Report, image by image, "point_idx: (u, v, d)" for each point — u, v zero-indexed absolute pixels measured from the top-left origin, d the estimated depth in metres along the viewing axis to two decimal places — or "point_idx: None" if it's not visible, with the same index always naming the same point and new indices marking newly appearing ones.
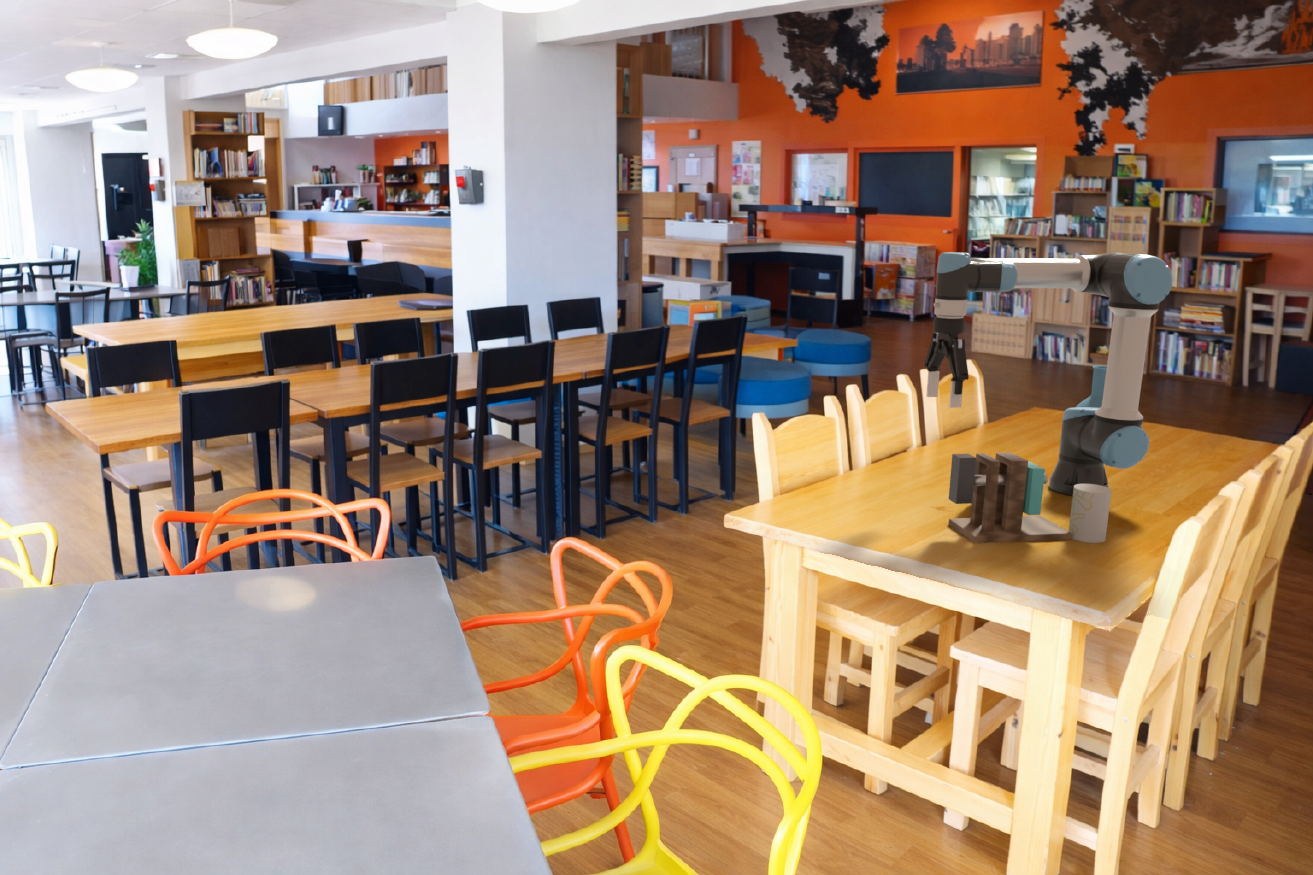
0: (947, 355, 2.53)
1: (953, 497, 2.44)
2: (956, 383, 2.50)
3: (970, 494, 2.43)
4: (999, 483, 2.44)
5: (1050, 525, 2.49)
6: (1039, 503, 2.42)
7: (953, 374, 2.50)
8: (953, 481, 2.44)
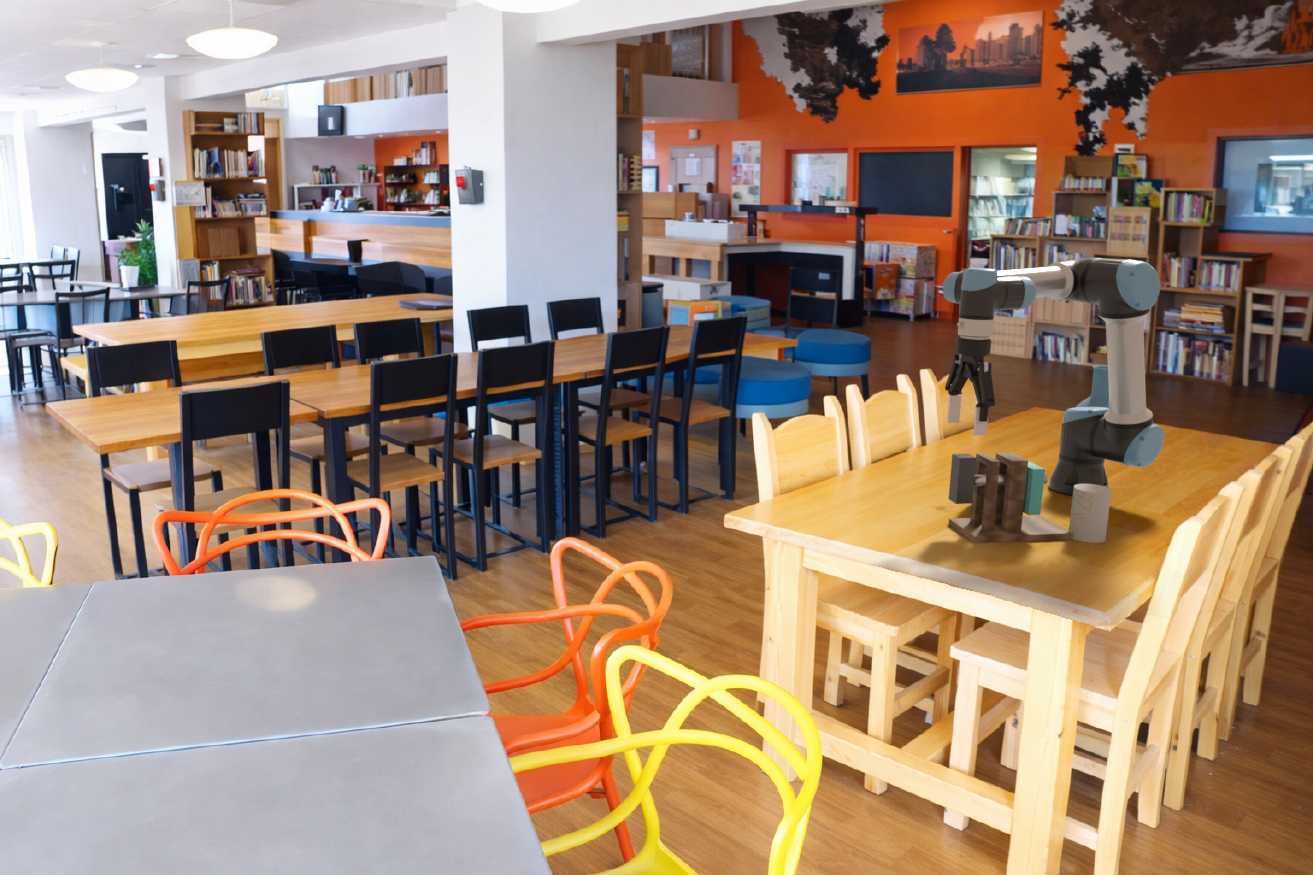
0: (971, 379, 2.34)
1: (953, 497, 2.44)
2: (981, 409, 2.32)
3: (970, 494, 2.43)
4: (999, 483, 2.44)
5: (1050, 525, 2.49)
6: (1039, 503, 2.42)
7: (978, 399, 2.32)
8: (953, 481, 2.44)
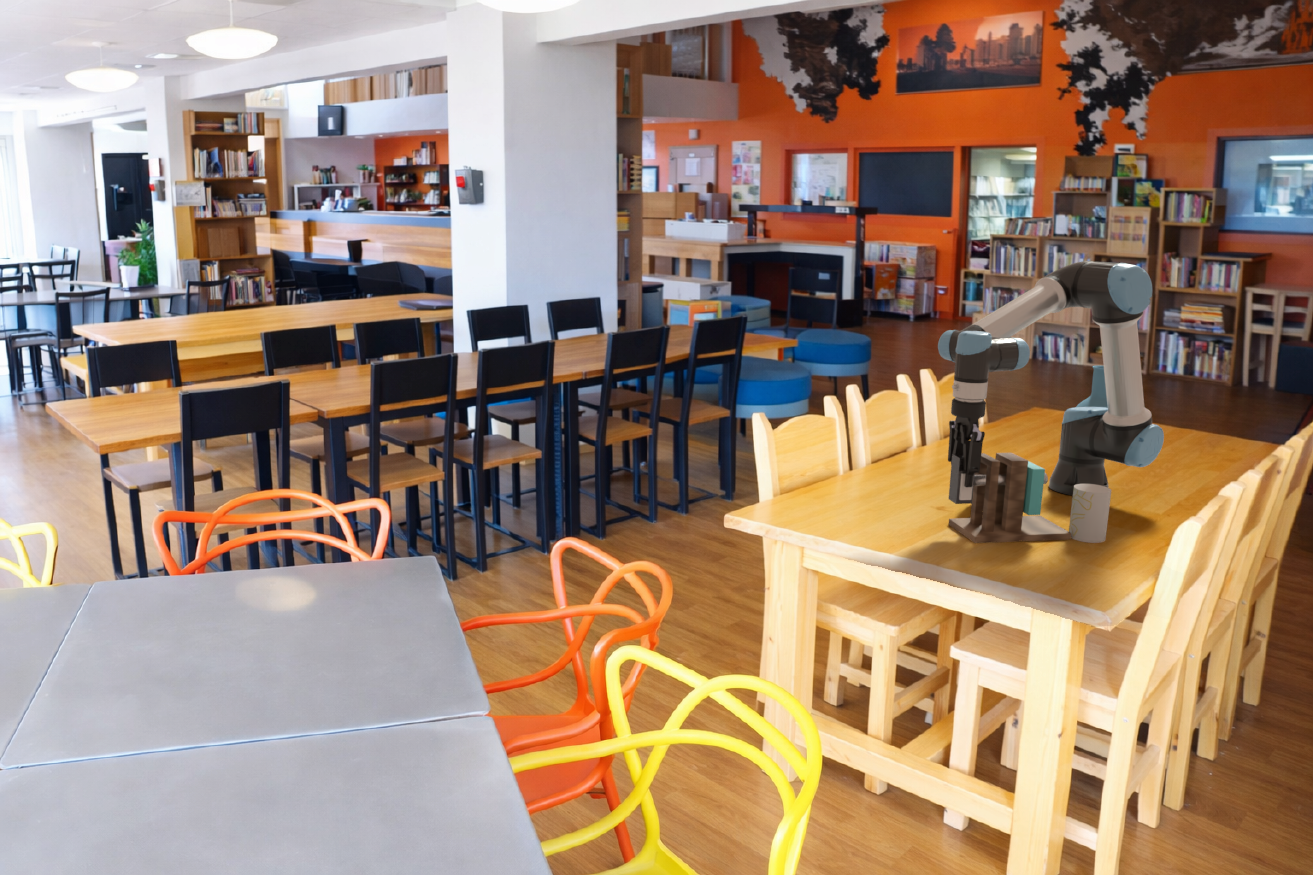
0: (963, 442, 2.39)
1: (953, 497, 2.44)
2: (966, 475, 2.40)
3: None
4: (999, 483, 2.44)
5: (1050, 525, 2.49)
6: (1039, 503, 2.42)
7: (964, 465, 2.40)
8: (953, 481, 2.44)
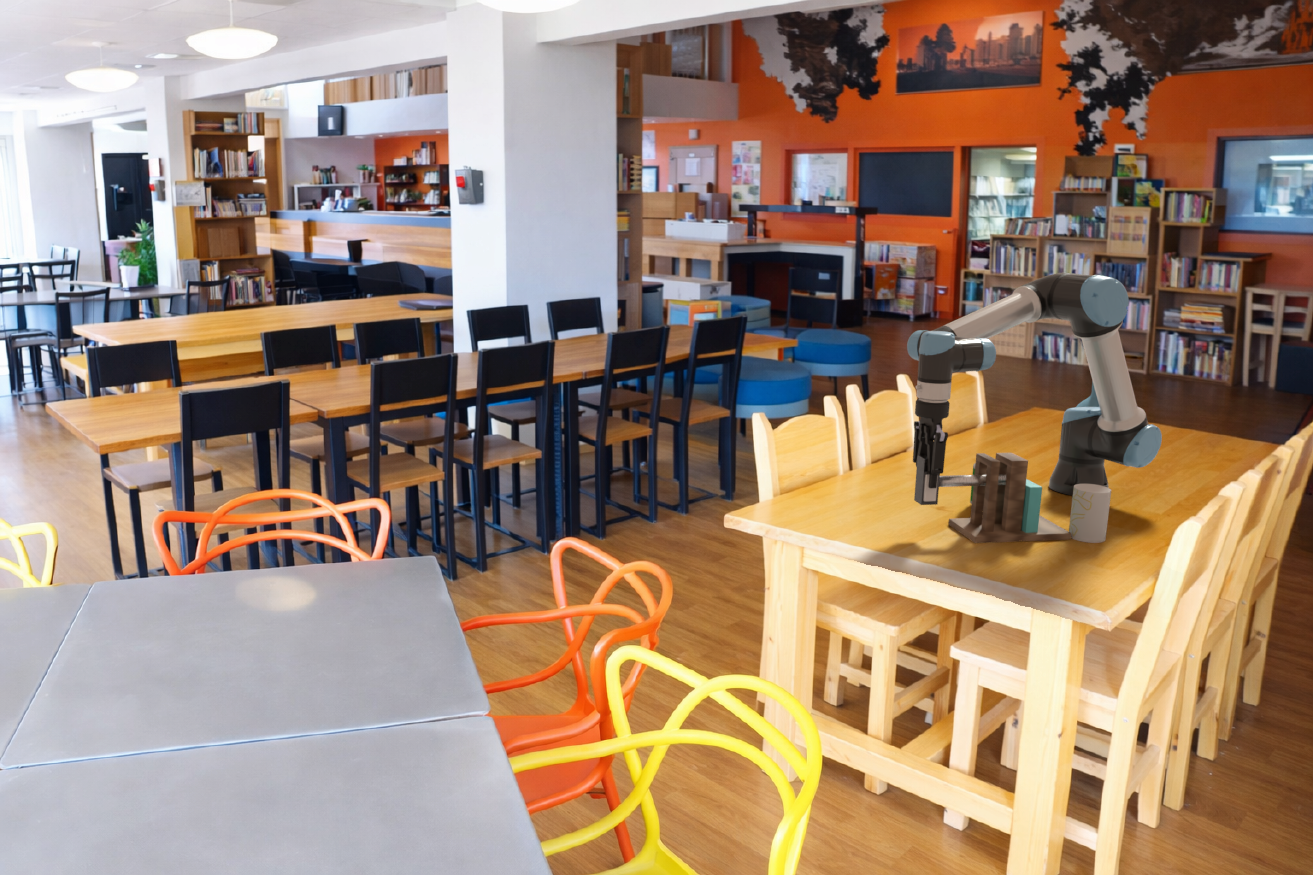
0: (927, 443, 2.38)
1: (919, 498, 2.42)
2: (930, 476, 2.38)
3: None
4: (965, 484, 2.43)
5: (1050, 525, 2.49)
6: (1037, 521, 2.43)
7: (928, 466, 2.38)
8: (918, 482, 2.42)
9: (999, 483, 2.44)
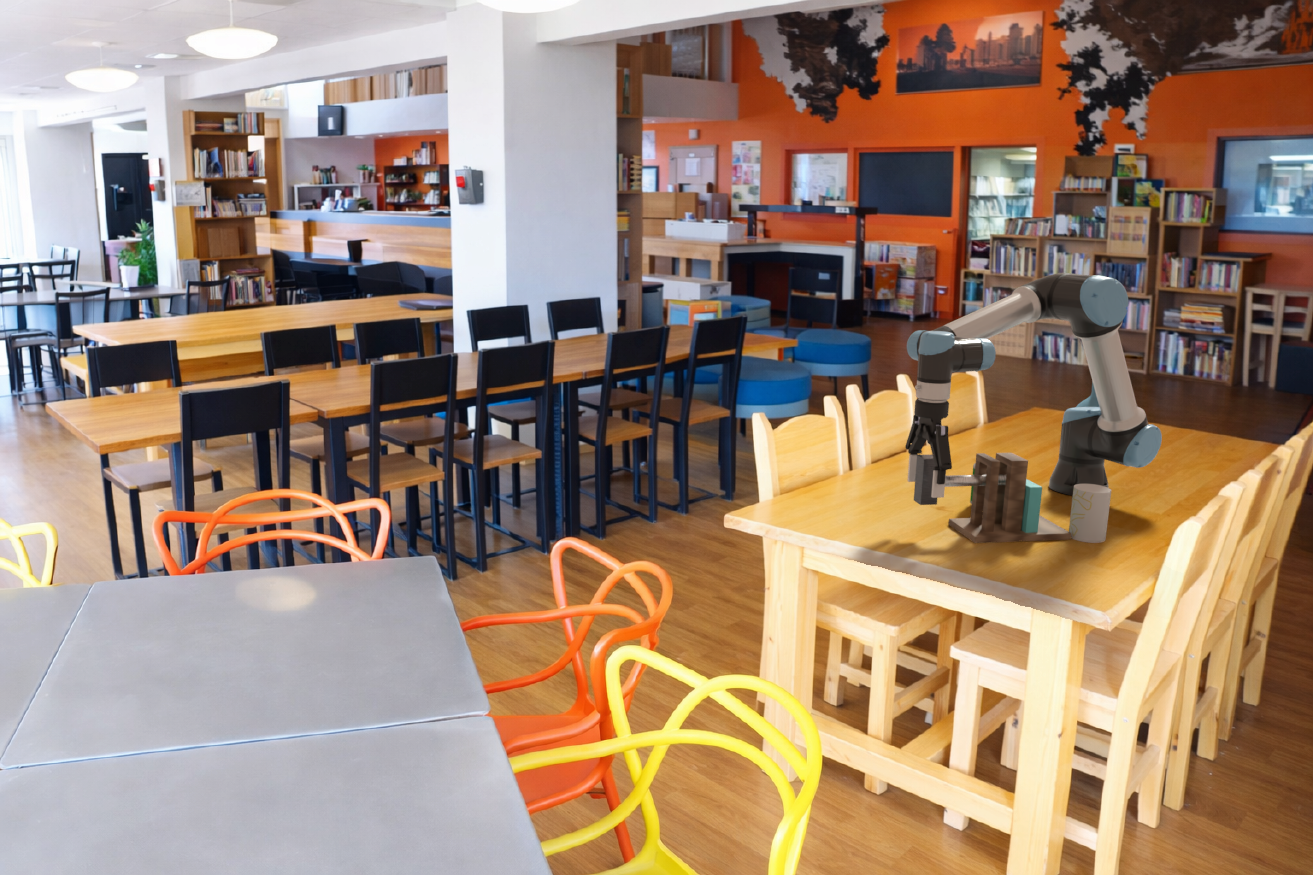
0: (929, 441, 2.36)
1: (918, 498, 2.42)
2: (938, 472, 2.34)
3: None
4: (964, 484, 2.43)
5: (1050, 525, 2.49)
6: (1037, 521, 2.43)
7: (935, 462, 2.34)
8: (918, 482, 2.42)
9: (998, 483, 2.44)
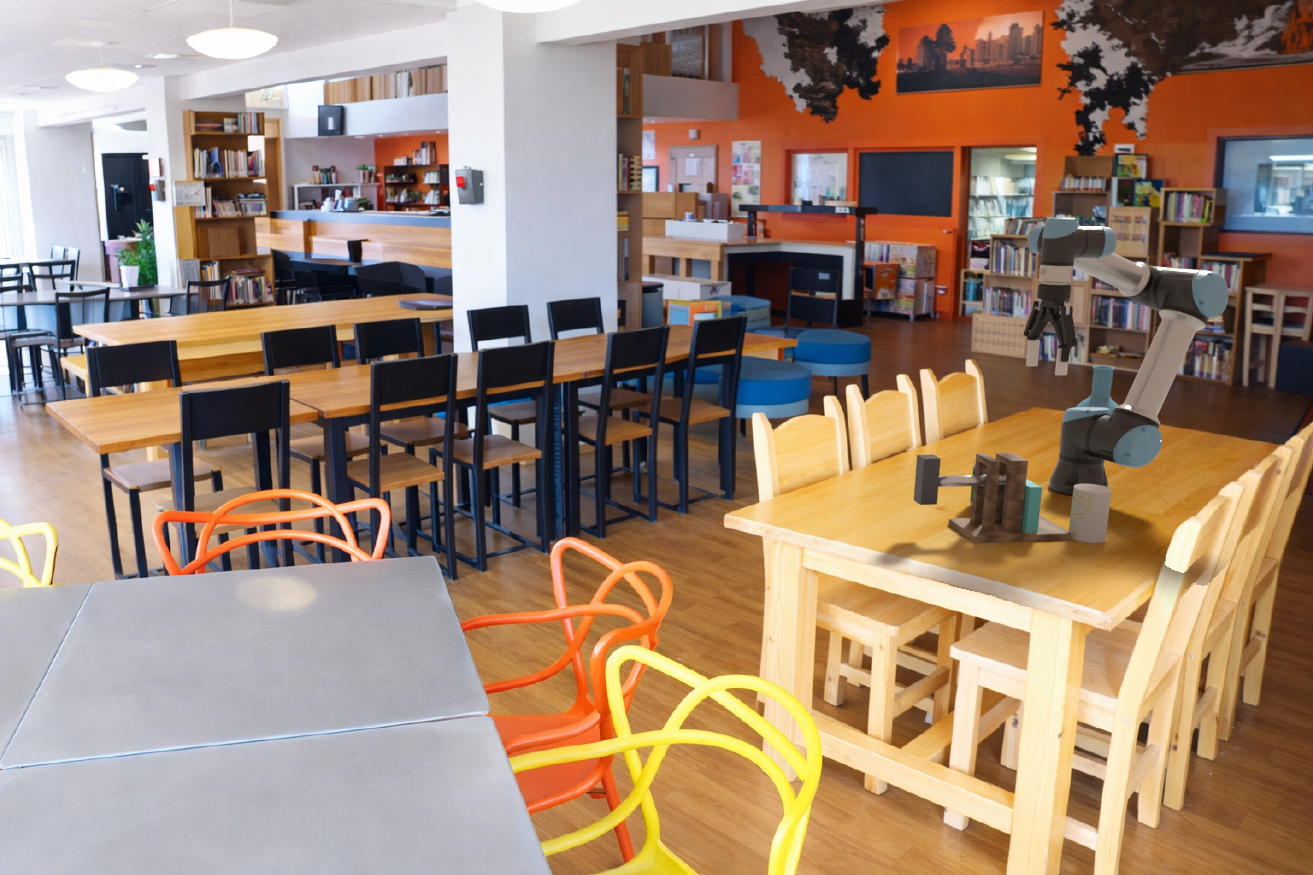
0: (1053, 322, 2.49)
1: (918, 498, 2.42)
2: (1063, 350, 2.46)
3: (935, 495, 2.41)
4: (964, 484, 2.43)
5: (1050, 525, 2.49)
6: (1037, 521, 2.43)
7: (1060, 341, 2.46)
8: (918, 482, 2.42)
9: (998, 483, 2.44)
